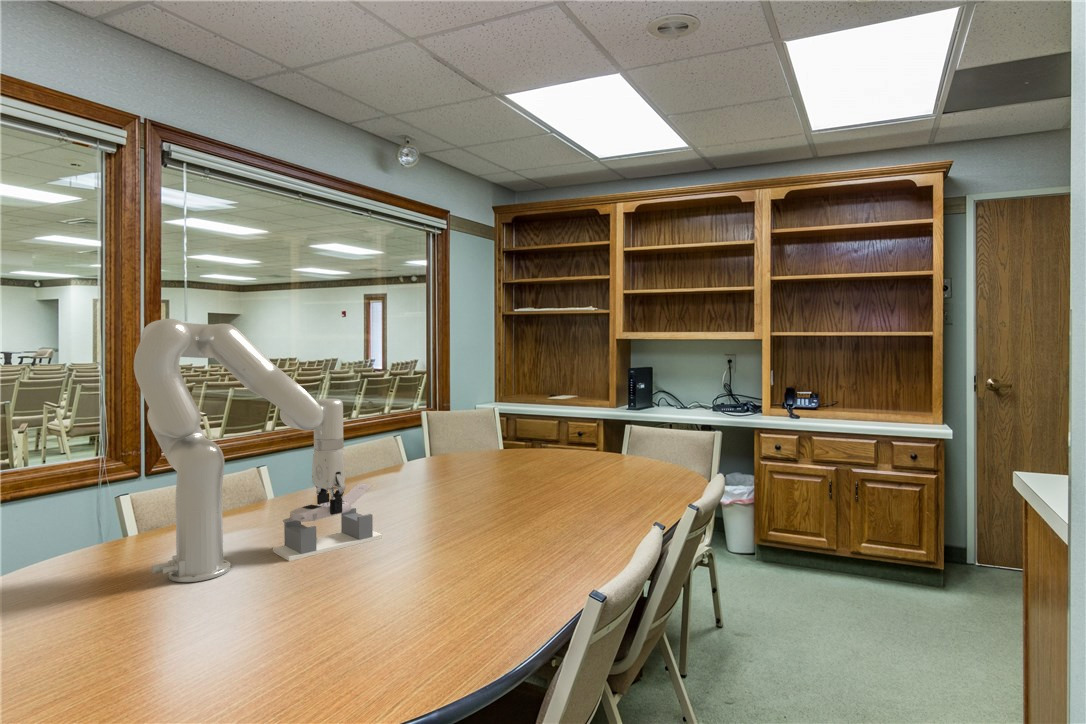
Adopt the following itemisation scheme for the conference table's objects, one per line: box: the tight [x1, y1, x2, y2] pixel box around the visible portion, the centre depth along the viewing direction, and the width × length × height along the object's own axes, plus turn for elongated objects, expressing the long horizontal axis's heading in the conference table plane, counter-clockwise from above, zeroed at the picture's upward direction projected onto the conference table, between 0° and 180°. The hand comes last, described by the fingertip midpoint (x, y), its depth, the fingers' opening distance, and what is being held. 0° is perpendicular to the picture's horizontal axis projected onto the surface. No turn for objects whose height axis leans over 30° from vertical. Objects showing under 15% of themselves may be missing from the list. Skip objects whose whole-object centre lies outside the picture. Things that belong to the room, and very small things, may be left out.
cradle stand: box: [272, 507, 383, 562], centre depth 163 cm, size 26×10×7 cm, turn 136°
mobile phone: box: [282, 482, 373, 523], centre depth 163 cm, size 6×6×25 cm
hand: (329, 510), depth 163 cm, fingers closed on mobile phone, 6 cm apart
